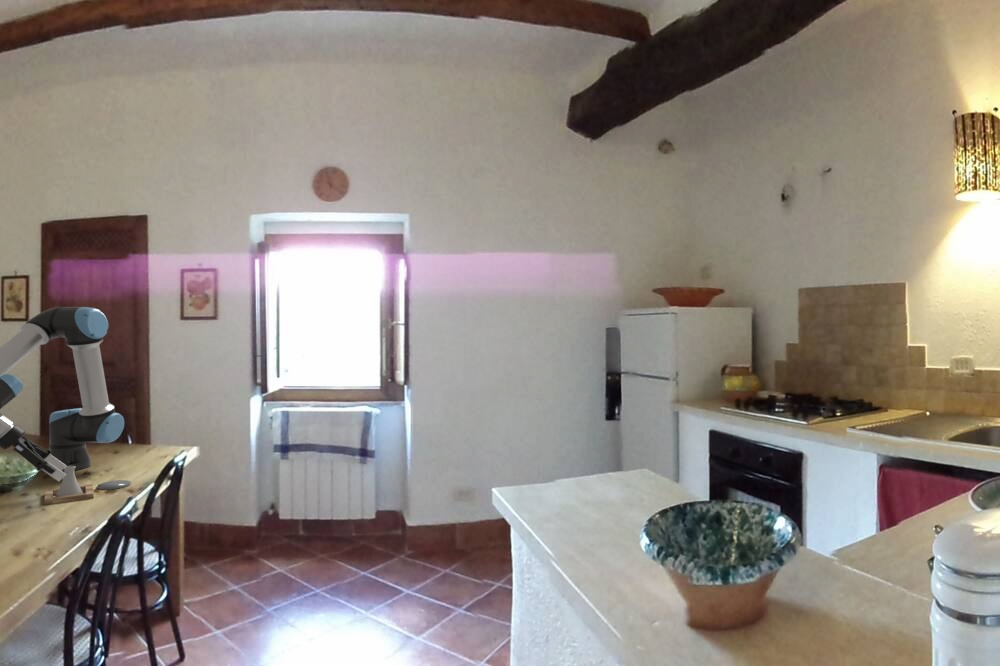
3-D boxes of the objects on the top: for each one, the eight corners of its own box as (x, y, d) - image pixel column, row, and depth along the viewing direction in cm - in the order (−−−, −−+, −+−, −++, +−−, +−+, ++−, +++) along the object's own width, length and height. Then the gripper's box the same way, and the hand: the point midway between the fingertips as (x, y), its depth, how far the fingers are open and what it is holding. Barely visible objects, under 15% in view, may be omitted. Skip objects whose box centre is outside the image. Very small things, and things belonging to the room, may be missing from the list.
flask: (68, 500, 195) (68, 470, 194) (50, 498, 196) (50, 468, 196) (88, 494, 202) (87, 465, 201) (70, 492, 203) (70, 463, 203)
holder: (45, 494, 200) (45, 490, 200) (92, 488, 208) (92, 484, 208) (44, 504, 190) (44, 500, 190) (93, 498, 197) (93, 493, 197)
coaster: (106, 482, 216) (106, 480, 216) (135, 481, 217) (135, 480, 217) (91, 490, 206) (91, 488, 206) (121, 489, 207) (121, 487, 207)
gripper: (-3, 435, 197) (54, 474, 206) (-12, 449, 176) (51, 491, 185) (18, 418, 200) (72, 457, 209) (11, 430, 179) (72, 472, 188)
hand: (63, 473), depth 197 cm, fingers open, 13 cm apart
